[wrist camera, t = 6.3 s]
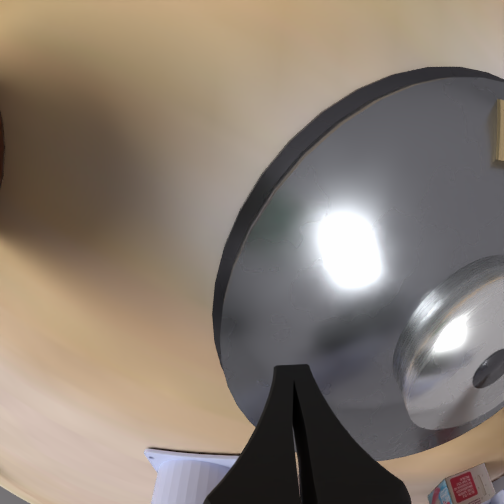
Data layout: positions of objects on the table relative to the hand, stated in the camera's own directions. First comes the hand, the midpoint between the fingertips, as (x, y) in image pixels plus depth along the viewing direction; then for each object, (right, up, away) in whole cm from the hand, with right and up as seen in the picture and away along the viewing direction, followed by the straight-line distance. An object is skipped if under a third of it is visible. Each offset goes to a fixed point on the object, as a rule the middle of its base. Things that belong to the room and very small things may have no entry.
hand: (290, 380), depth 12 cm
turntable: (+9, +2, +2) cm, 10 cm away
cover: (+9, +1, 0) cm, 9 cm away
